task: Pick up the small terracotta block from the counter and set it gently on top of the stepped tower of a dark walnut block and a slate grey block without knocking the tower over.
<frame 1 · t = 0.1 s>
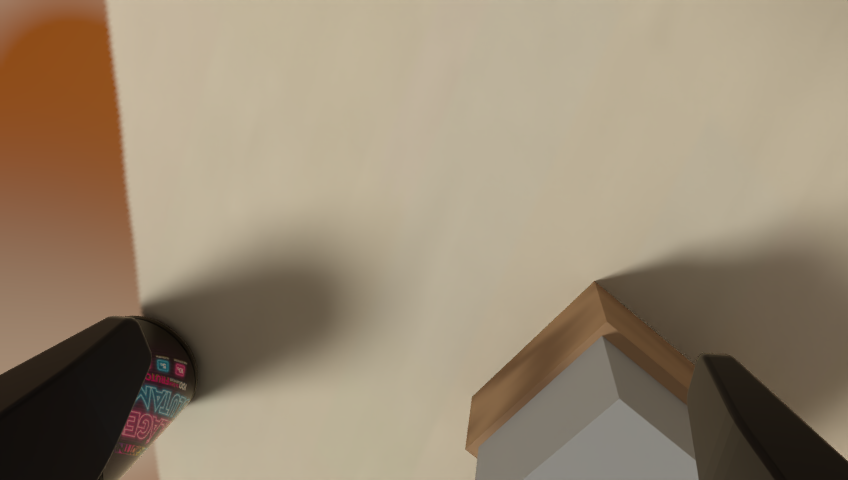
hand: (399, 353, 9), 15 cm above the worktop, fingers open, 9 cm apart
slate top block: (604, 448, 23), point 4 cm above the worktop, touching walnut base block
supplement container: (152, 360, 30), on the worktop
walnut base block: (595, 392, 27), on the worktop, touching slate top block
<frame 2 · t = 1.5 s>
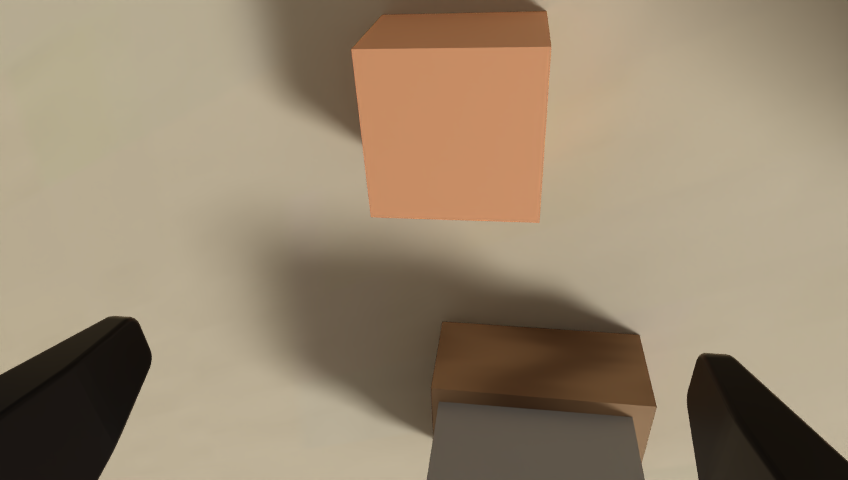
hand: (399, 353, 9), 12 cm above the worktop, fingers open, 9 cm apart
slate top block: (528, 468, 23), point 4 cm above the worktop
terracotta block: (464, 91, 19), on the worktop
walnut base block: (532, 389, 26), on the worktop
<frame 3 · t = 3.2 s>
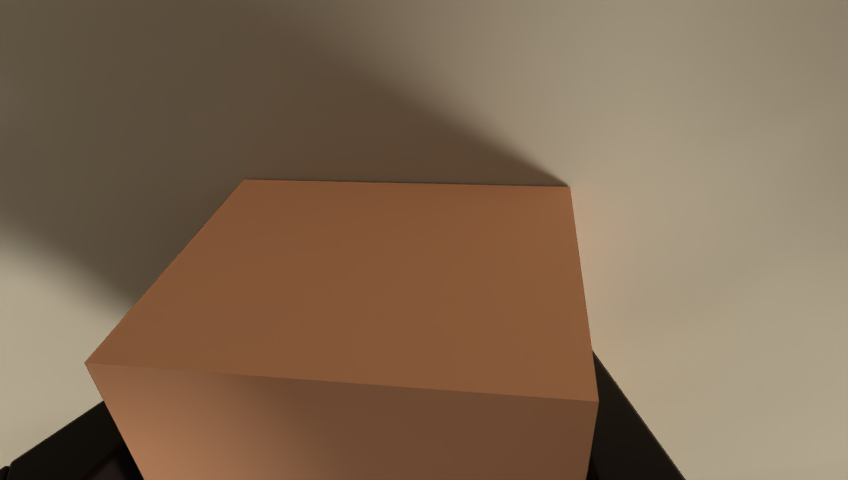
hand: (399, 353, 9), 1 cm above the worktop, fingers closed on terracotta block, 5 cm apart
terracotta block: (410, 310, 10), on the worktop, touching gripper
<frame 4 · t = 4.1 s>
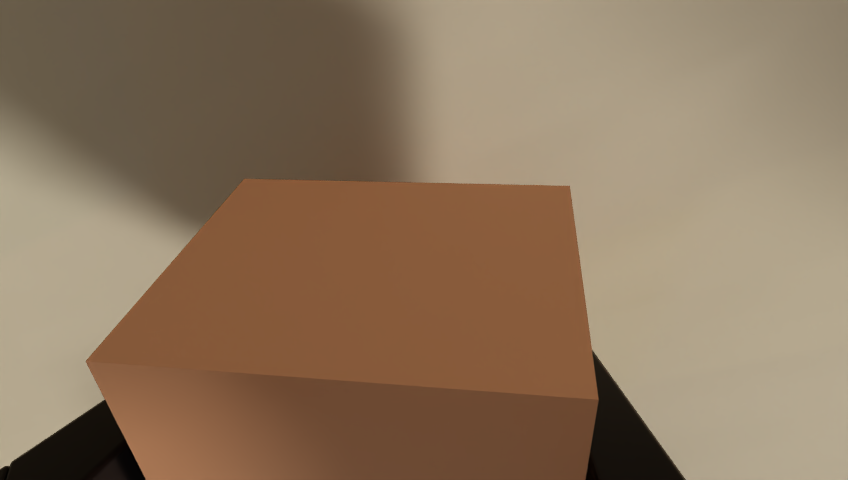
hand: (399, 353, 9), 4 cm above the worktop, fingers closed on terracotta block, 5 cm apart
terracotta block: (410, 309, 10), point 3 cm above the worktop, touching gripper
when the fingers open (10 cm above the worktop, at t = 7.2 s): terracotta block drops 1 cm, resting on slate top block.
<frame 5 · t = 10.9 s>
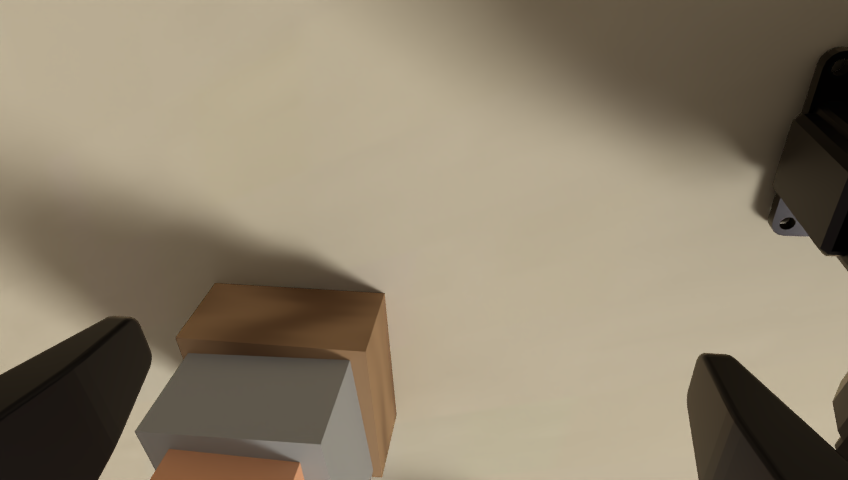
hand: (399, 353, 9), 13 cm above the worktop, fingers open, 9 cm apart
slate top block: (285, 414, 25), point 4 cm above the worktop, touching terracotta block, walnut base block
walnut base block: (312, 348, 29), on the worktop, touching slate top block
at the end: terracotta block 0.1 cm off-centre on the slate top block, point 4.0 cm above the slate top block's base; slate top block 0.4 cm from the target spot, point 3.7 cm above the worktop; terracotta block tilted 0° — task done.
